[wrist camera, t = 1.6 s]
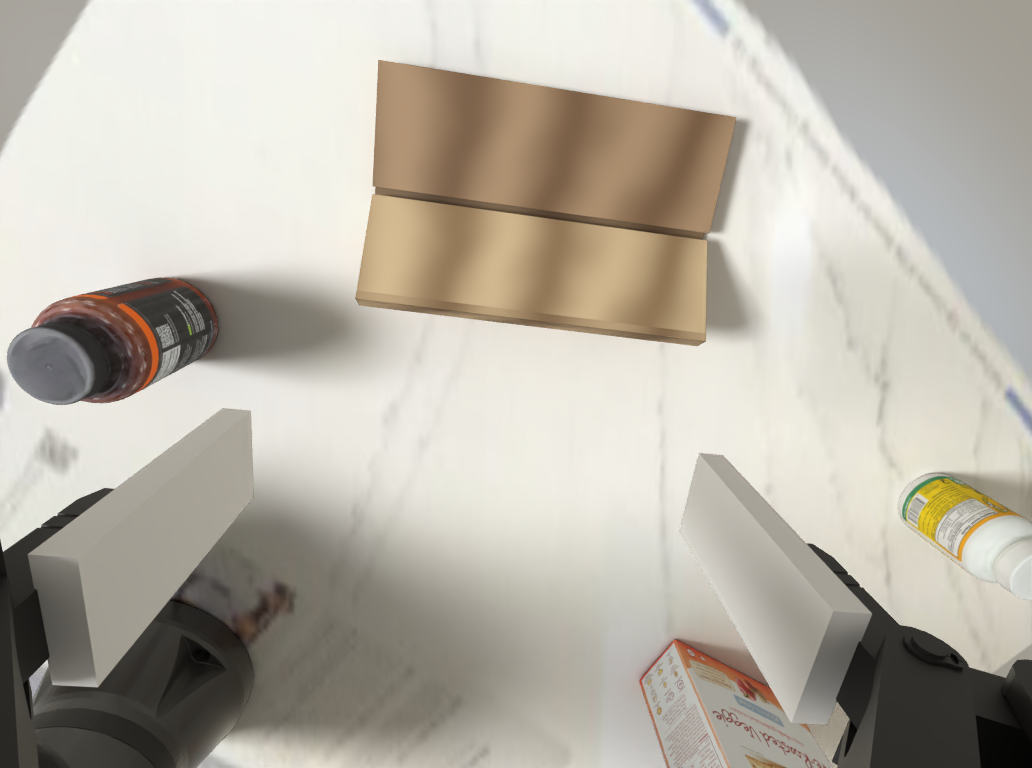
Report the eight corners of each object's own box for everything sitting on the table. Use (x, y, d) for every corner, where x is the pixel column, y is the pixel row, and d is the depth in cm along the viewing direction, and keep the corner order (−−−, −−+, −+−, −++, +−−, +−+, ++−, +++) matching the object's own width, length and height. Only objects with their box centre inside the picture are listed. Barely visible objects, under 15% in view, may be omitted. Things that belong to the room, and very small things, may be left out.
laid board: (376, 196, 35) (372, 196, 33) (382, 65, 32) (378, 59, 31) (700, 241, 36) (706, 242, 35) (728, 120, 34) (736, 117, 33)
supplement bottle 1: (112, 312, 36) (-47, 356, 25) (172, 257, 35) (34, 278, 24) (181, 378, 38) (59, 445, 27) (240, 326, 37) (138, 375, 26)
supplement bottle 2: (885, 494, 44) (989, 569, 35) (945, 458, 43) (1068, 526, 34) (909, 538, 45) (1015, 622, 36) (968, 505, 44) (1092, 582, 35)
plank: (358, 305, 33) (355, 298, 32) (375, 204, 35) (372, 194, 33) (697, 346, 35) (705, 340, 34) (699, 248, 37) (707, 240, 35)
